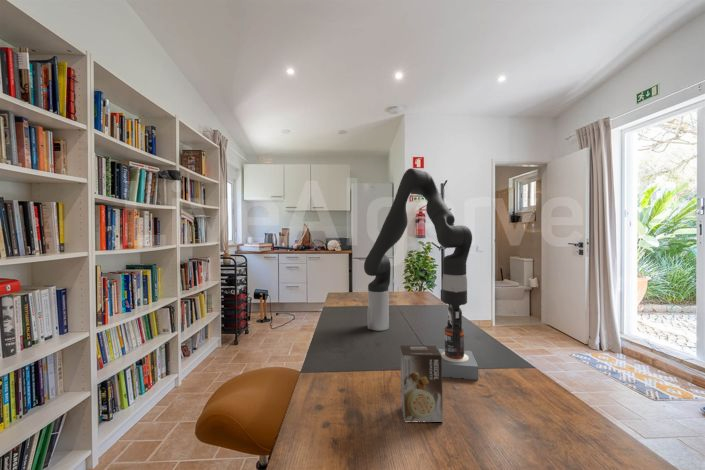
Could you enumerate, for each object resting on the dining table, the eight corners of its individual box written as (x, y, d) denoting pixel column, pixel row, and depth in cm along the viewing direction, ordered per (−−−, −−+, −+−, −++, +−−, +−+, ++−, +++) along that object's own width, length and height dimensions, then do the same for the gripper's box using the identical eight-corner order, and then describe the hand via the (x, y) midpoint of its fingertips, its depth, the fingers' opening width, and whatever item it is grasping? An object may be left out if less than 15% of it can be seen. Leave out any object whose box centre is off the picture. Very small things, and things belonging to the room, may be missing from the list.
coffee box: (437, 408, 78) (437, 344, 78) (443, 424, 72) (443, 355, 71) (400, 407, 78) (400, 344, 78) (403, 423, 72) (403, 354, 72)
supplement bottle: (464, 353, 101) (464, 319, 101) (464, 360, 96) (464, 324, 95) (445, 351, 103) (444, 317, 103) (444, 358, 97) (444, 322, 97)
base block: (436, 376, 94) (436, 362, 94) (434, 359, 106) (434, 347, 106) (478, 379, 92) (478, 365, 92) (471, 362, 104) (471, 350, 104)
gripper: (440, 283, 106) (440, 330, 107) (444, 292, 92) (444, 346, 93) (463, 284, 105) (463, 331, 105) (470, 293, 91) (470, 347, 91)
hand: (454, 338), depth 99 cm, fingers open, 8 cm apart
